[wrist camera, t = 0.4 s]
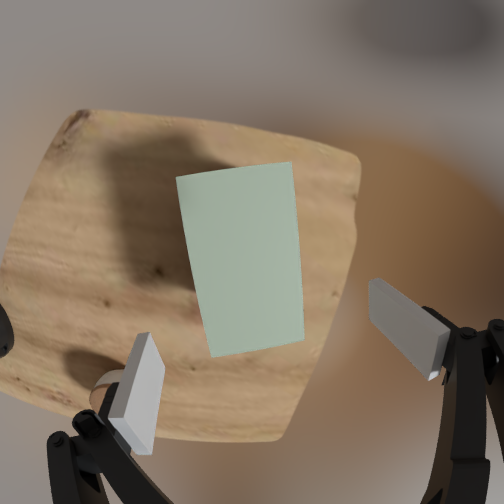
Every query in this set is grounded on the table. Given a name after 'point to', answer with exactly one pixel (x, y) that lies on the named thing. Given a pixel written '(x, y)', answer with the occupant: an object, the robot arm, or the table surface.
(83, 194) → the table surface
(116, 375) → the lidded jar
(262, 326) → the lid
